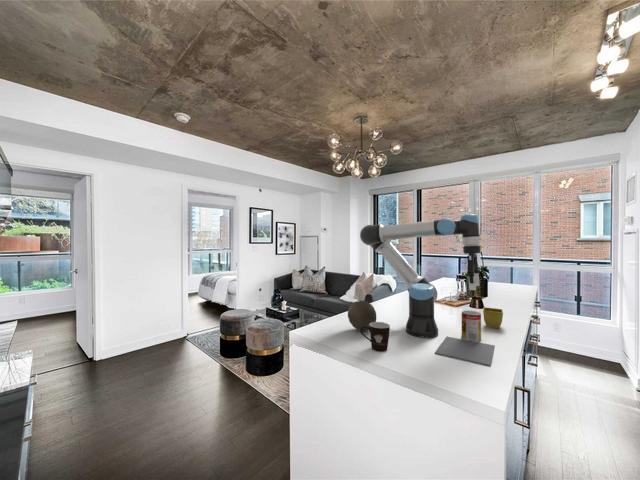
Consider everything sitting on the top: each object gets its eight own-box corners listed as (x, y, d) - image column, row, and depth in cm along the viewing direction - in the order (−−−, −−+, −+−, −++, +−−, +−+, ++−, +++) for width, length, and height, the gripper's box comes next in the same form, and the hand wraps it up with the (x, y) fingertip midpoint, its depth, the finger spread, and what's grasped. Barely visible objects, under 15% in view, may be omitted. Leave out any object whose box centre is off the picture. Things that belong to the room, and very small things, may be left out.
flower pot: (502, 325, 145) (502, 309, 145) (503, 330, 137) (503, 312, 137) (483, 323, 149) (483, 307, 149) (483, 327, 142) (483, 310, 142)
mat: (434, 353, 108) (434, 352, 108) (446, 337, 127) (446, 336, 127) (490, 366, 97) (490, 365, 97) (494, 346, 116) (494, 345, 116)
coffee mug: (394, 348, 114) (393, 324, 114) (383, 354, 107) (382, 329, 108) (370, 341, 122) (370, 319, 122) (359, 346, 116) (359, 323, 116)
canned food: (477, 336, 129) (477, 310, 129) (483, 342, 121) (483, 315, 121) (459, 334, 131) (459, 310, 131) (464, 340, 123) (464, 314, 123)
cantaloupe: (353, 325, 146) (353, 297, 146) (379, 328, 140) (379, 299, 140) (343, 333, 133) (343, 302, 133) (372, 337, 127) (372, 305, 127)
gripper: (476, 245, 123) (480, 292, 123) (482, 244, 143) (486, 284, 142) (458, 246, 128) (461, 291, 127) (467, 245, 148) (470, 284, 147)
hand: (474, 288), depth 135 cm, fingers open, 13 cm apart
